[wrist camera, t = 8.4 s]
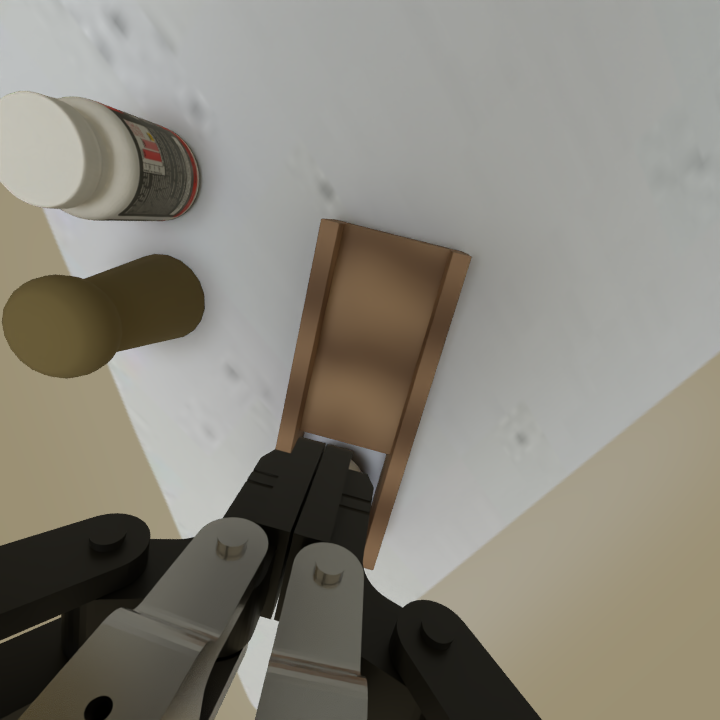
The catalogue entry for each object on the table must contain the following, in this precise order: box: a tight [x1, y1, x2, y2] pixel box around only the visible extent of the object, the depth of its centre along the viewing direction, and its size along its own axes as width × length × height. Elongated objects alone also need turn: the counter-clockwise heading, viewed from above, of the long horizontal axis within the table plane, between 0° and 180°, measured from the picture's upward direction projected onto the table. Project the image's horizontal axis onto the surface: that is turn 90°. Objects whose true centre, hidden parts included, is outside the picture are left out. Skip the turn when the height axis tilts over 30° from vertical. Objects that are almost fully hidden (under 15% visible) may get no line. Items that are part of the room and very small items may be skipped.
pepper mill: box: [2, 254, 205, 378], centre depth 26 cm, size 6×6×11 cm
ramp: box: [276, 219, 471, 570], centre depth 29 cm, size 22×8×4 cm, turn 166°
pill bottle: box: [0, 91, 199, 221], centre depth 24 cm, size 6×6×10 cm
